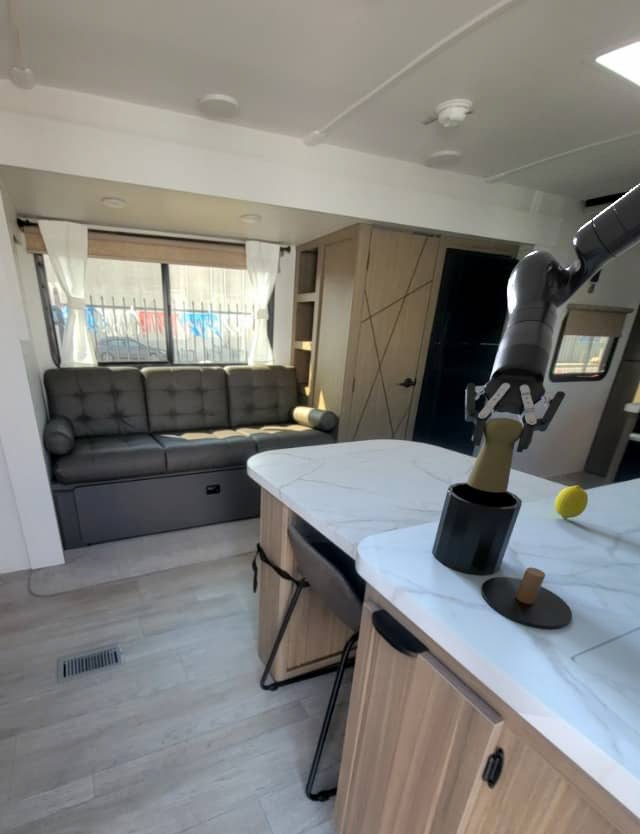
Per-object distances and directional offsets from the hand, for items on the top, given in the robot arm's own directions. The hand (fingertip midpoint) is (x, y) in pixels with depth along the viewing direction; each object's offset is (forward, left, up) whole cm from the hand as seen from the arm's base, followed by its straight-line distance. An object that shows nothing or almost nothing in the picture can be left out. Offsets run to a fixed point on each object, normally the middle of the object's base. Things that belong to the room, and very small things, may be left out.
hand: (499, 446), depth 63 cm
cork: (-1, -2, -7) cm, 8 cm away
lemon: (-29, -25, -22) cm, 44 cm away
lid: (-6, +10, -21) cm, 24 cm away
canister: (-1, -2, -22) cm, 22 cm away
